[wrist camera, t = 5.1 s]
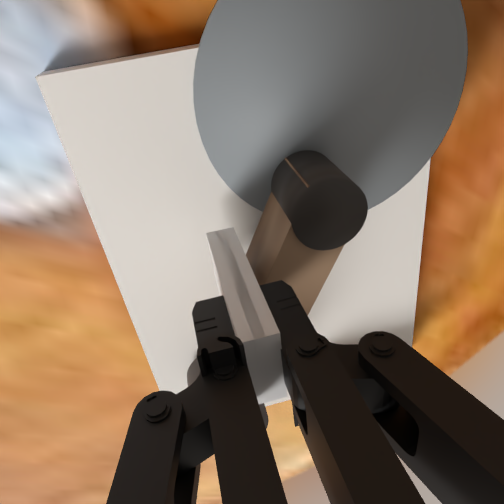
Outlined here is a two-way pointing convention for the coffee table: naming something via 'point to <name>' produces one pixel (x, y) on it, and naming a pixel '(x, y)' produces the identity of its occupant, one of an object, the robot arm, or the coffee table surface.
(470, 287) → the coffee table surface
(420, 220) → the stand board
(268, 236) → the leg
